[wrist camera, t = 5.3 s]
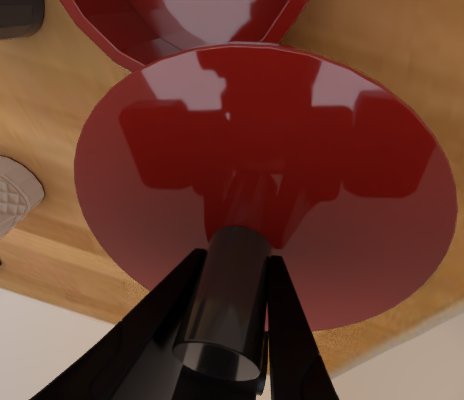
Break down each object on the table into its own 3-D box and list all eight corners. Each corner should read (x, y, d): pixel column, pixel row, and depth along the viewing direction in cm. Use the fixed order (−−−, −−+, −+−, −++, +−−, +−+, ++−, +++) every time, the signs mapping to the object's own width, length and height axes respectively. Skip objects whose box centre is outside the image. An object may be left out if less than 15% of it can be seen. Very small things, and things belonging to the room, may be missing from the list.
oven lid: (536, 229, 8) (775, 453, 4) (267, 334, 16) (257, 442, 12) (172, -123, 5) (-343, -653, 1) (68, 226, 13) (-31, 324, 9)
